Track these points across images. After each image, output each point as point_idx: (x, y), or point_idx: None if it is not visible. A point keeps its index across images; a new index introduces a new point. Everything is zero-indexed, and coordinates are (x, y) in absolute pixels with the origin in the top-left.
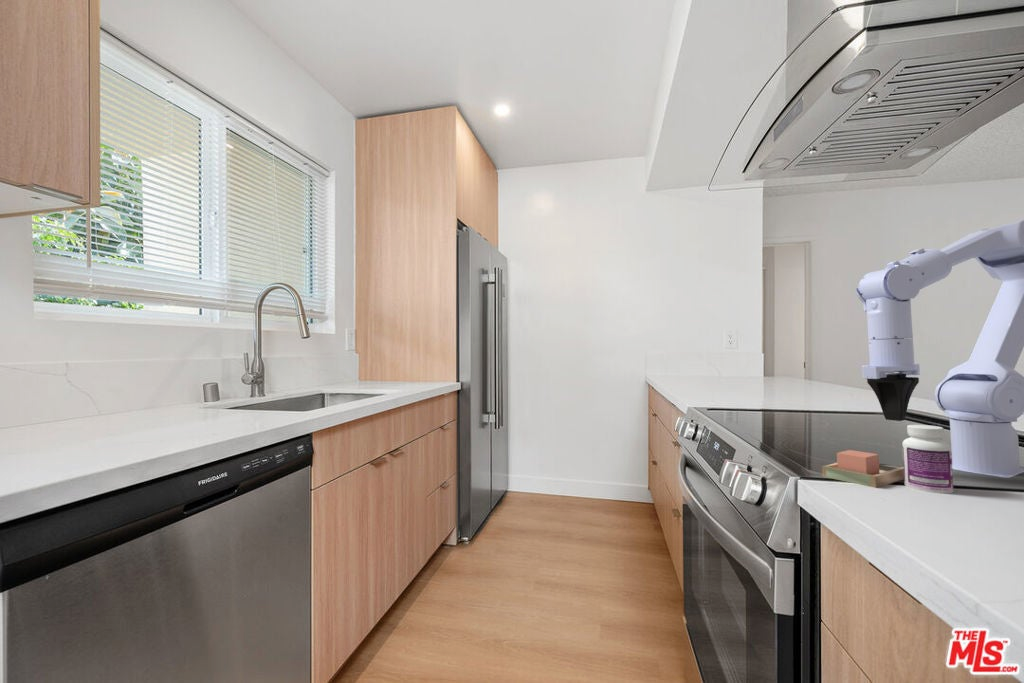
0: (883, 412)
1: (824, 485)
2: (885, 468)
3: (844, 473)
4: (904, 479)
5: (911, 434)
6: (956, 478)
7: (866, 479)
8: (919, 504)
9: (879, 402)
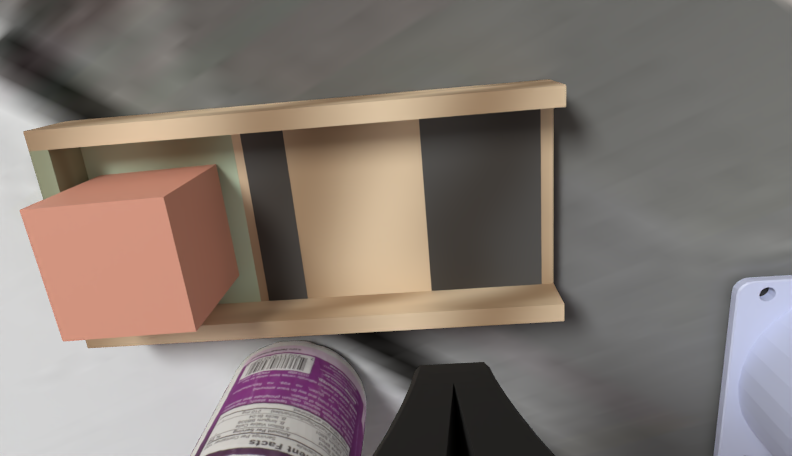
0: (407, 395)
1: (4, 178)
2: (474, 181)
3: None
4: (245, 366)
5: None
6: (611, 361)
7: None
8: (121, 440)
9: (377, 450)
